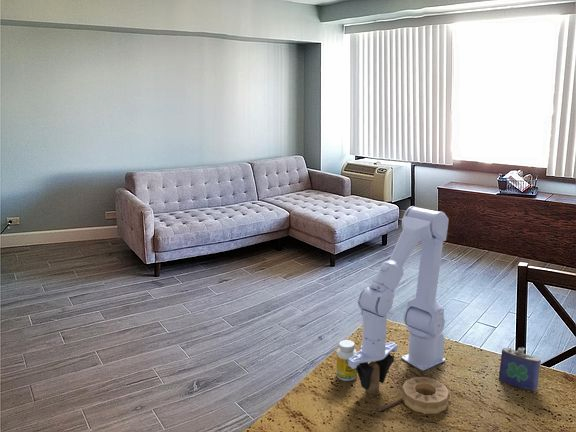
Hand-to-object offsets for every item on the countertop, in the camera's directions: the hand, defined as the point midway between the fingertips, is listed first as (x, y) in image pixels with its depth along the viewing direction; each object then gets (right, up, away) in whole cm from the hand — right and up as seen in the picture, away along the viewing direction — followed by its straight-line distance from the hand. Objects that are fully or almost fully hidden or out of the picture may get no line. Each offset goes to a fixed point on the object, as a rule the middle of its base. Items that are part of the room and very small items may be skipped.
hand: (372, 384), depth 126 cm
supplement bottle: (-6, 0, +7) cm, 9 cm away
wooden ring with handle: (+9, -3, -5) cm, 11 cm away
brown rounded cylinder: (0, -2, 0) cm, 2 cm away
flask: (+37, -1, +2) cm, 37 cm away
